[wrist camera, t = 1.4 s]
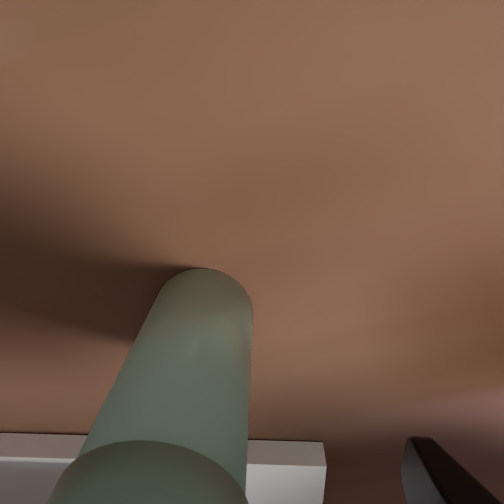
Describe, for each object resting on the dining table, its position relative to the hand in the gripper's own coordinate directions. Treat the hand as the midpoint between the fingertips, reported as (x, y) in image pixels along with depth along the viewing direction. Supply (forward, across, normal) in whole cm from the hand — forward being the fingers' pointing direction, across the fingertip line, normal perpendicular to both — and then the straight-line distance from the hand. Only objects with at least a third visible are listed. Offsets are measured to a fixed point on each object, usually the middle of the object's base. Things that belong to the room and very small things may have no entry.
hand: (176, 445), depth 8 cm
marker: (+5, 0, 0) cm, 5 cm away
